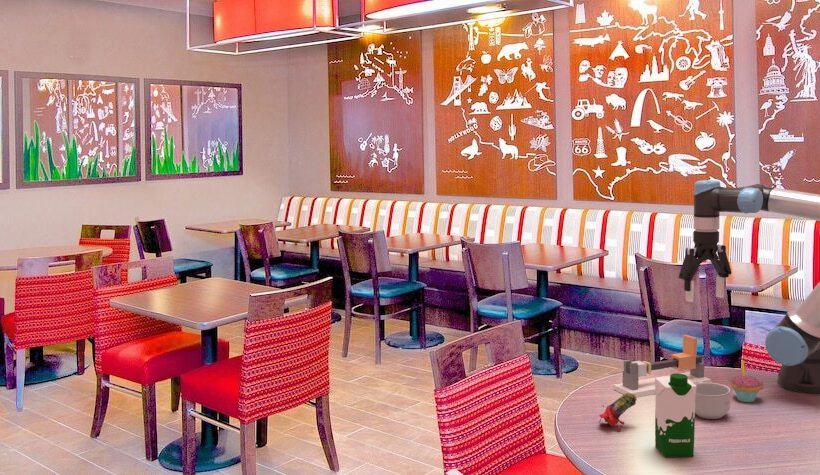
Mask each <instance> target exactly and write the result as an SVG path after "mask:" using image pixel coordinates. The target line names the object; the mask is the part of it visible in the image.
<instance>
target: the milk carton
mask: <svg viewBox="0 0 820 475" xmlns="http://www.w3.org/2000/svg"><path fill="white" fill-rule="evenodd" d="M669 375H670V377H662V376H657V377H658V378H656V377H654V378H655V392H656V394H655V404H654V405H655V408H654V409H655V410H654V412H655V413H654V414H655V416H654V422H655V423H654V432H655V433H654V435H655V436H654V437H655V439H654V443H655V444H654V446H655V448H656V449H657V450H658V451H659V452H660V453H661V455H662V456H664V458H665V459H666V458H684V457H685V458H686V457H694V454H695V452H694V451H695V425H696V424H695V422H696V419H695V418H696V413H695V396H696V385H695V384H693V383H692V382H691V381H690V380H689V379H688V377H687V375H684V374H680V373H671V374H669Z"/></svg>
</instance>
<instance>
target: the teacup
mask: <svg viewBox="0 0 820 475" xmlns="http://www.w3.org/2000/svg"><path fill="white" fill-rule="evenodd" d="M695 385H696V396H695V415H697V416H698V417H700V418H702V419H706V420H718V419H721V418H723V417H724V416H725V415H727V414H728V412H729V411H730V408H731V388H730V387H729V386H727V385H725V384H722V383H717V382H711V383H706V382H705V383H704V382H703V381H698V382H697V383H696V384H695Z"/></svg>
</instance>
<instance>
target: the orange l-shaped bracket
mask: <svg viewBox="0 0 820 475" xmlns="http://www.w3.org/2000/svg"><path fill="white" fill-rule="evenodd" d="M697 350H698V338H697V337H694V336H693V335H692V336H691V335H688V334H683V336H682V352H679V353H678V352H677V353H672V354H670V360H672V359H678V360H679V366H676V367H670V368H672V369H674V370H676V371H678V372H683V371H688V370H689V371H690V369H696V356H697V352H698V351H697Z"/></svg>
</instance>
